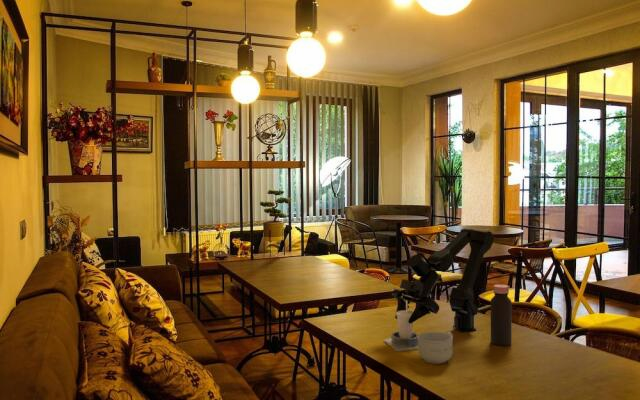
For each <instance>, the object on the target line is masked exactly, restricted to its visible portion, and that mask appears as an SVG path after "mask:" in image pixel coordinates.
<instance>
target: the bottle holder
mask: <svg viewBox="0 0 640 400" xmlns="http://www.w3.org/2000/svg"><path fill="white" fill-rule="evenodd" d="M418 335H419V334H418V333H417V332H414V331H412V336H411V338H410V339H403V338H400V335H399V330H398V331H397V330H396V331H394V332H392V333H391V337H390V338H384V339H383V341H384V343H386V344H387V345H389V346H390V347H391V348H392V349H393V350H395V351H396V352H405V351H406V352H407V351H413V350H418V339H417V336H418Z"/></svg>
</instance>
